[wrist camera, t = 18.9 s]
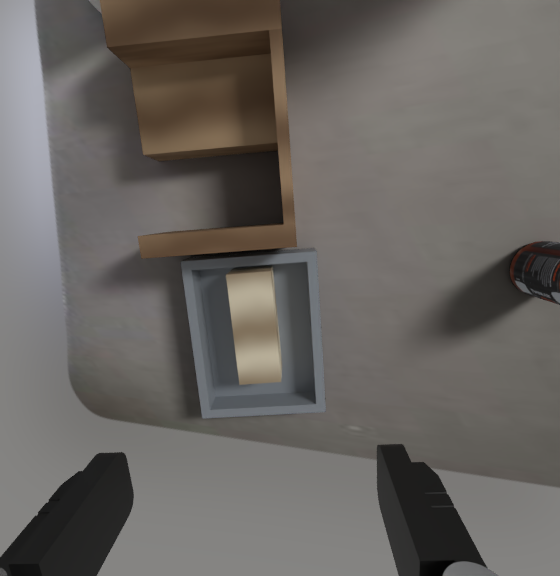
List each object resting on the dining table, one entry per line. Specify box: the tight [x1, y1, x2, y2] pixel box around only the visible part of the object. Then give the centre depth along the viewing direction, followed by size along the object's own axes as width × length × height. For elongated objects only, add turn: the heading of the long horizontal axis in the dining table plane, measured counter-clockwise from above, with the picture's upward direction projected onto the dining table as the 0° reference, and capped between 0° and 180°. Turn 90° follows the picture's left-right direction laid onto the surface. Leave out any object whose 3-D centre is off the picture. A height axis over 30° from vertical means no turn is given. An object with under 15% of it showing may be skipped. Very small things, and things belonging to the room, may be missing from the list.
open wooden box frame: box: [100, 0, 297, 259], centre depth 32 cm, size 21×14×8 cm, turn 5°
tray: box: [181, 248, 326, 418], centre depth 39 cm, size 18×14×4 cm
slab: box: [226, 265, 282, 385], centre depth 38 cm, size 12×4×4 cm, turn 5°
